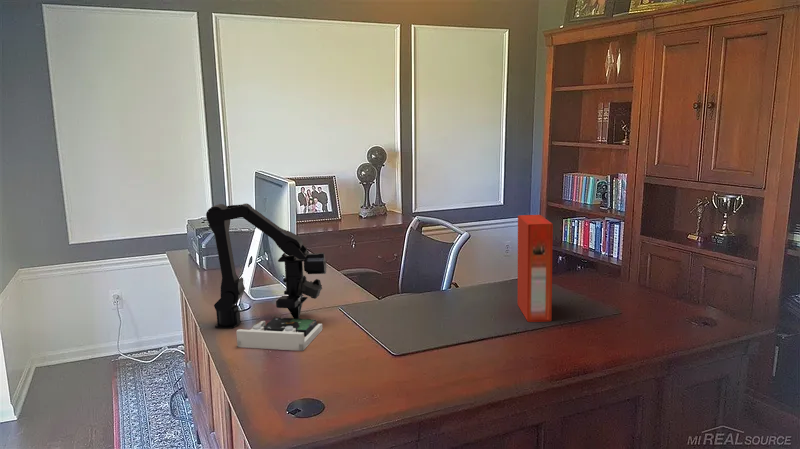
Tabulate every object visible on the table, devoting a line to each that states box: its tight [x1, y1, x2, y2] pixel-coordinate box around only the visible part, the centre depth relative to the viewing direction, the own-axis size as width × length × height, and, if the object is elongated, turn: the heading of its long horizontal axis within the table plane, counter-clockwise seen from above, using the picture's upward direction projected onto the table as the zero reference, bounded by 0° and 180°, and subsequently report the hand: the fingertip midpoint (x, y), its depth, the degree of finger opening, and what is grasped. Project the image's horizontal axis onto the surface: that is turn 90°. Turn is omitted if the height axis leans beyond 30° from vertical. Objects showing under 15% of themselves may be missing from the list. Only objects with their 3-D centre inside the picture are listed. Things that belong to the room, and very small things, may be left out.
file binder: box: [517, 214, 554, 323], centre depth 197 cm, size 8×17×32 cm, turn 179°
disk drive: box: [264, 317, 318, 338], centre depth 189 cm, size 10×3×15 cm
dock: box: [236, 320, 323, 352], centre depth 182 cm, size 20×18×6 cm
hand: (296, 320), depth 195 cm, fingers closed
